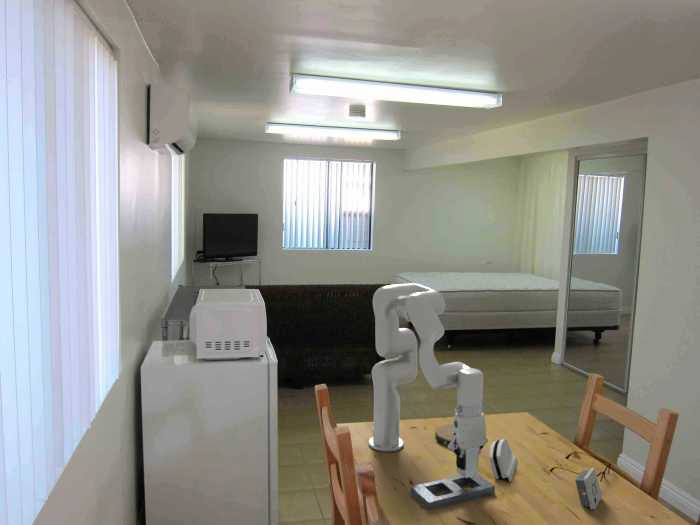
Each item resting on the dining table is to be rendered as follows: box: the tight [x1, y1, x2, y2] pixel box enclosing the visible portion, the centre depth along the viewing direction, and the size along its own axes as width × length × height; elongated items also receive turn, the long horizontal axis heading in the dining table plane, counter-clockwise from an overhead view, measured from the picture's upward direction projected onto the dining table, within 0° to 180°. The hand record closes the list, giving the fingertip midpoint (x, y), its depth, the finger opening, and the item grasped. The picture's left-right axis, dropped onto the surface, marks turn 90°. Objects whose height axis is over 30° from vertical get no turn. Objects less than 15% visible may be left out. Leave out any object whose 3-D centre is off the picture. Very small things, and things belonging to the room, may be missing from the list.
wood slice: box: [434, 423, 456, 448], centre depth 212 cm, size 16×16×3 cm
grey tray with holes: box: [410, 473, 496, 511], centre depth 172 cm, size 10×24×2 cm, turn 115°
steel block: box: [456, 447, 479, 478], centre depth 173 cm, size 4×4×10 cm
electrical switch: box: [575, 467, 602, 511], centre depth 169 cm, size 9×5×9 cm, turn 143°
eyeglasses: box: [549, 451, 612, 483], centre depth 188 cm, size 16×16×4 cm
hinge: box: [488, 439, 518, 482], centre depth 189 cm, size 17×5×10 cm, turn 156°
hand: (467, 466), depth 173 cm, fingers closed on steel block, 4 cm apart
